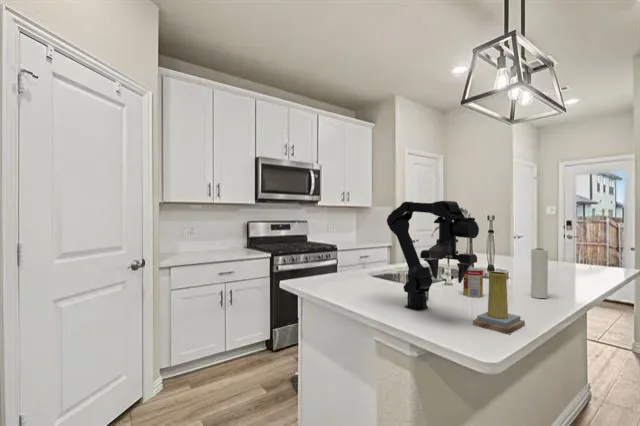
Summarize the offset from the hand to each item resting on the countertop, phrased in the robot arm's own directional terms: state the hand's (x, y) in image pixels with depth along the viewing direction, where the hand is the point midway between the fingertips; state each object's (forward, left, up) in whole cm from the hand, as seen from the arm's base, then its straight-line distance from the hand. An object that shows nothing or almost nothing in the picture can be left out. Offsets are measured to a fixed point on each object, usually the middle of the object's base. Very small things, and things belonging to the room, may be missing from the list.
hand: (447, 280), depth 119 cm
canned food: (-10, +39, -13) cm, 42 cm away
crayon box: (-21, +14, -13) cm, 28 cm away
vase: (+15, +6, -10) cm, 19 cm away
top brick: (+15, +6, -11) cm, 20 cm away
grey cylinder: (+10, +59, -13) cm, 61 cm away
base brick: (+15, +6, -13) cm, 21 cm away
